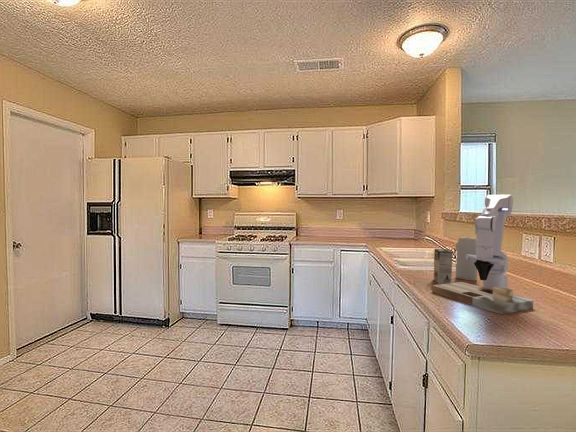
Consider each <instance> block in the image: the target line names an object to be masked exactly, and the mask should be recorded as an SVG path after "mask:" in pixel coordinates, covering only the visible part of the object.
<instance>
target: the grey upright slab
mask: <svg viewBox="0 0 576 432" xmlns="http://www.w3.org/2000/svg"><path fill="white" fill-rule="evenodd" d="M455 251H456V264H455V278H456V279H461V280H465V281H473V282H475V281H478V270H477V268H476V266H475V265H474V262H476V261H475V260H470V259H469V260H468V259H466V255H468V254H470V255H476V238H473V237H470V236H469V237H467V236H464V237H458V241H457V242H456V243H455Z"/></svg>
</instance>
